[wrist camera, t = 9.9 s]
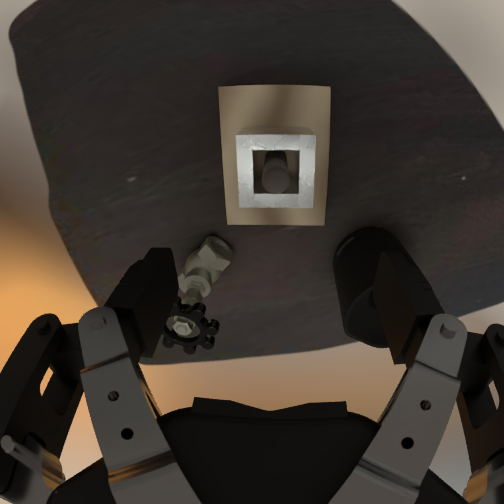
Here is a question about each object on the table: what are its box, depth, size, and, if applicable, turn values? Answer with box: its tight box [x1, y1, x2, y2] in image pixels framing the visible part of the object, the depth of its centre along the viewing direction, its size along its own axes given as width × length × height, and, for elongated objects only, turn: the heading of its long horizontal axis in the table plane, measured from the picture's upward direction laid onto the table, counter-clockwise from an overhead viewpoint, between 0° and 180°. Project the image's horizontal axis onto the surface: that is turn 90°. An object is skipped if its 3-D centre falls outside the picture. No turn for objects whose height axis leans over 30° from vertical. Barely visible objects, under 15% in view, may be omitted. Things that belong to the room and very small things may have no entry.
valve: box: [162, 236, 233, 354], centre depth 30 cm, size 7×7×12 cm
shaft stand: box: [218, 85, 330, 226], centre depth 24 cm, size 10×14×10 cm
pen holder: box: [333, 228, 433, 348], centre depth 29 cm, size 9×9×10 cm
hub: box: [236, 127, 316, 208], centre depth 24 cm, size 6×6×5 cm
